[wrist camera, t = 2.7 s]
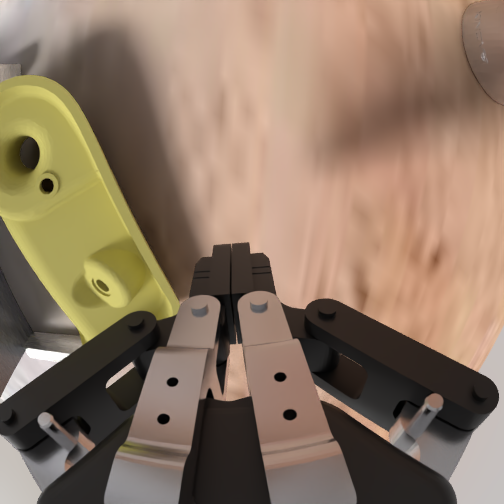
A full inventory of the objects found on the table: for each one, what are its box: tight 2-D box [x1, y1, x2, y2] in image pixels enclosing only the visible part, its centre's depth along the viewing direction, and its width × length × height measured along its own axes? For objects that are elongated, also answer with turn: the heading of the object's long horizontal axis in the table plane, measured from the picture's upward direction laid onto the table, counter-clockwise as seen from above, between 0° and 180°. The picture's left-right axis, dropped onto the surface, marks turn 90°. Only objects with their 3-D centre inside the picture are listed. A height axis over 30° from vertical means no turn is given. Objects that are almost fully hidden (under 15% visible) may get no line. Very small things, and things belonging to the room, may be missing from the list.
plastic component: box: [0, 75, 180, 345], centre depth 17 cm, size 20×7×10 cm
